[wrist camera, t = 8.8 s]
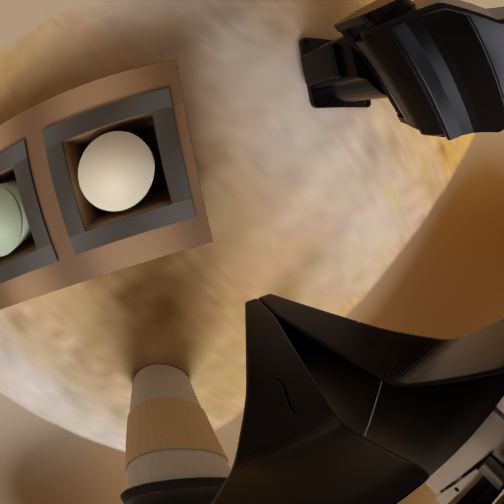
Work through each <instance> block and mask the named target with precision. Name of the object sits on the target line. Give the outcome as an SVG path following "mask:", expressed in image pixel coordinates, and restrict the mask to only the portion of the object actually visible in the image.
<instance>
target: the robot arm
mask: <svg viewBox="0 0 504 504" xmlns="http://www.w3.org/2000/svg"><path fill="white" fill-rule="evenodd" d="M334 27H335V28H336V29H337V31H338V32H339V31H340V32H341V33H342V34H343V36H342V37H340V38H338V39H335V40H325V39H315V38H302V39H301V40H299V46H300V51H301V55H302V57H301V60H302V65H303V70H304V75H305V80H306V84H307V85H308V91H309V96H310V102H311V105H312V106H313V107H314V108H339V107H364V108H365V107H369V106H370V105H371V101H370V99H379V98H389V100H390V102H391V103H392V105H393V107H394V108H395V110H396V112H397V114H398V115H397V116H398V118H399V120H400V121H401V122H403V123H405V124H408V125H409V126H411V127H413V128H415V129H418V130H420V133H421V134H423V135H429V136H440V137H447V139H448V140H452V139H454V138H456V137H459V136H461V135H465V134H469V133H474V132H500V131H502V130H504V7H498V8H490V9H484V8H481V7H479V6H476V5H473V4H470V3H467V2H464V1H461V0H413V1H411V0H377V1H375V2H372V3H370V4H368V5H366V6H364V7H362V8H361V9H359V10H357V11H356V12H354V13H353V14H351V15H349V16H348V17H346V18H345V19H343V20H342V21H340V22H338V23H337V24H335V25H334ZM304 42H306V44H307V45H305V44H304ZM316 100H317V101H318V105H317V104H316ZM365 101H366V104H365ZM245 319H246V371H247V372H246V399H245V407H244V414H243V420H242V425H241V431H240V437H239V443H238V448H237V452H236V457H235V460H234V464H233V467H232V469H231V472H230V474H229V476H228V477H227V479H226V481H225V482H224V484H223V486H222V487H221V489H220V490H219V492H218V494H217V495H216V497H215V498H214V500H213V502H212V503H211V504H397V503H398V502H399V501H401V500H402V499H404V498H405V497H406V496H408V495H409V494H410V493H412V492H413V491H414V490H415V489H417V488H418V487H419V486H420V485H422V484H423V483H424V482H425V483H426V484H427V485H428V486H429V487H430V488H431V489H432V490H433V491H434V493H435V494H436V495H437V497H436V499H437V501H438V502H439V503H440V504H492V502H493V501H494V500H495V499H496V498H497V497H498V495H499V494H500V493H501V492H502V490H503V489H504V318H503V319H501V320H499V321H497V322H495V323H493V324H491V325H488V326H486V327H484V328H482V329H479V330H477V331H475V332H472V333H470V334H468V335H465V336H463V337H460V338H455V339H437V338H431V337H425V336H419V335H414V334H408V333H402V332H397V331H393V330H388V329H384V328H379V327H376V326H372V325H368V324H365V323H362V322H359V323H358V321H355V320H351V319H348V318H345V317H342V316H338V315H335V314H332V313H329V312H325V311H322V310H319V309H316V308H313V307H310V306H306V305H303V304H300V303H297V302H294V301H291V300H288V299H285V298H282V297H279V296H276V295H273V294H267V295H265V296H262V297H259V299H253V300H250V301H247V302H246V303H245ZM495 504H504V494H503V495H502V496H501V497H500V498H499V500H498V501H497V502H496V503H495Z"/></svg>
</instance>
